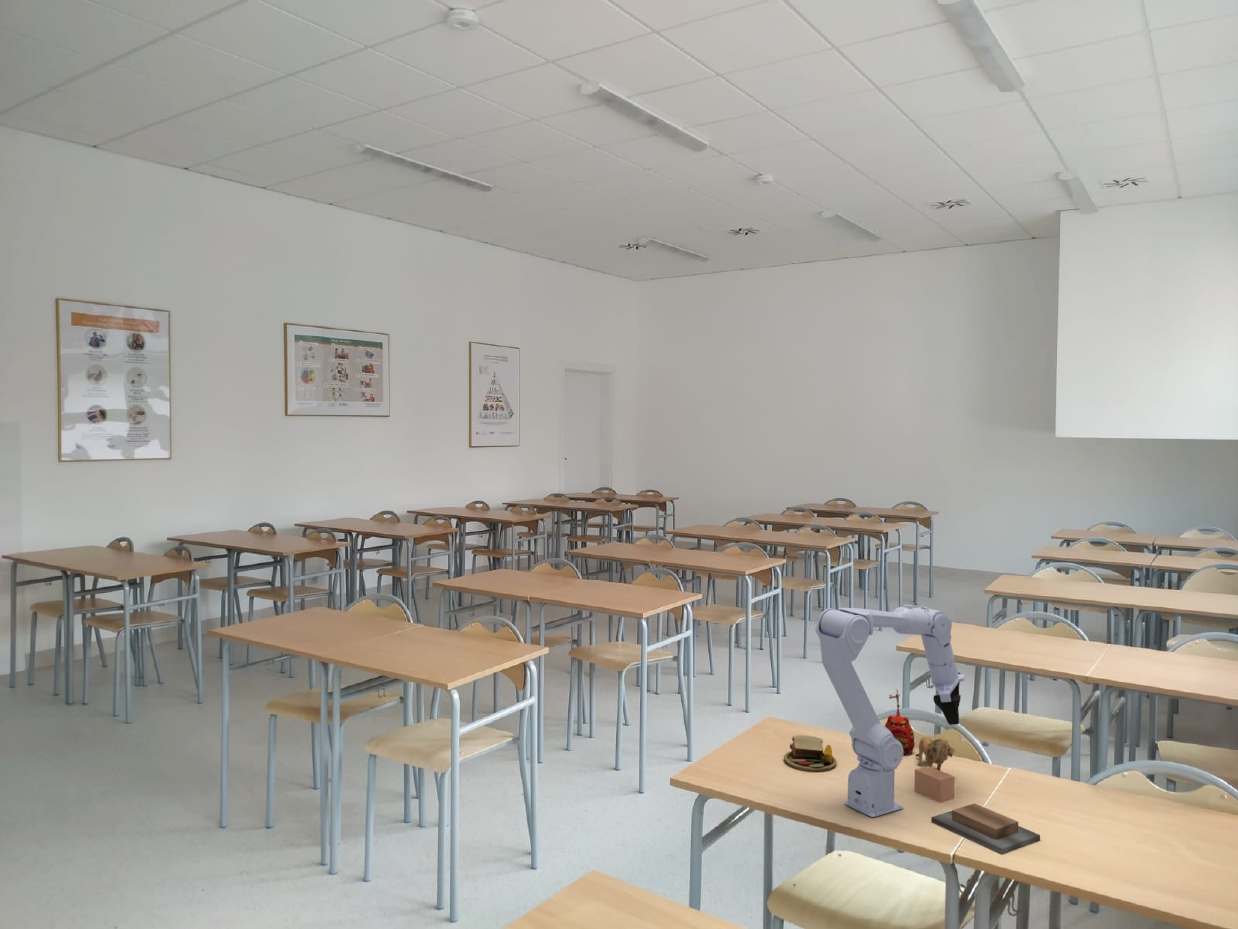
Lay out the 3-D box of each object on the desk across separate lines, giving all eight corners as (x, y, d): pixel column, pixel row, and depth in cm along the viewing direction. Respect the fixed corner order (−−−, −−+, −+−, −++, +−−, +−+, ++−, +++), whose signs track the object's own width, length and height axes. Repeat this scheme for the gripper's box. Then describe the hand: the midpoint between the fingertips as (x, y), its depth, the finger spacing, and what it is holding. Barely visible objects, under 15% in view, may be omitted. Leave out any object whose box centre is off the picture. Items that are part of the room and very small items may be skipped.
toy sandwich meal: (781, 770, 202) (781, 750, 202) (786, 751, 215) (786, 732, 215) (835, 776, 198) (836, 756, 198) (837, 756, 211) (837, 737, 211)
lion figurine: (957, 780, 196) (958, 741, 196) (935, 781, 195) (936, 742, 195) (925, 757, 211) (925, 721, 211) (905, 758, 210) (905, 722, 210)
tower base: (1001, 854, 160) (1001, 838, 160) (931, 822, 174) (931, 807, 174) (1040, 840, 166) (1040, 825, 166) (969, 810, 180) (969, 795, 180)
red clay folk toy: (883, 754, 212) (884, 695, 212) (881, 745, 219) (882, 687, 219) (915, 757, 211) (916, 697, 210) (912, 748, 218) (913, 689, 217)
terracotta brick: (940, 803, 183) (940, 780, 183) (914, 792, 189) (914, 769, 189) (954, 799, 186) (954, 776, 186) (927, 788, 192) (928, 766, 192)
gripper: (959, 674, 181) (973, 731, 183) (960, 643, 193) (973, 696, 196) (924, 677, 184) (938, 733, 186) (928, 646, 196) (941, 699, 199)
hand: (954, 714), depth 191 cm, fingers open, 7 cm apart
